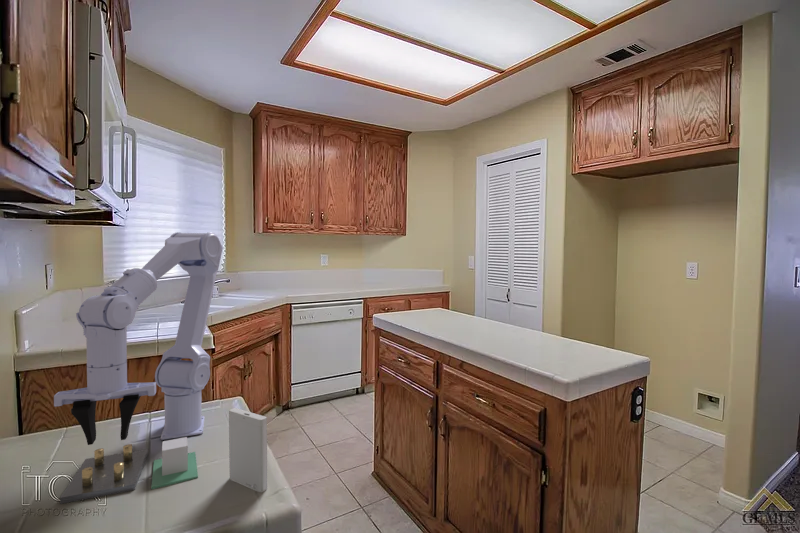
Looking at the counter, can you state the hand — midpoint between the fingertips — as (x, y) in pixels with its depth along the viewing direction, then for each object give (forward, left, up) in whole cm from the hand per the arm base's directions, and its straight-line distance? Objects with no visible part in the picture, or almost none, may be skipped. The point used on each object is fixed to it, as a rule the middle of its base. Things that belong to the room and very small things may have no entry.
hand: (108, 439), depth 72 cm
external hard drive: (+12, +23, -7) cm, 26 cm away
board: (+2, +11, -7) cm, 13 cm away
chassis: (0, 0, -7) cm, 7 cm away
